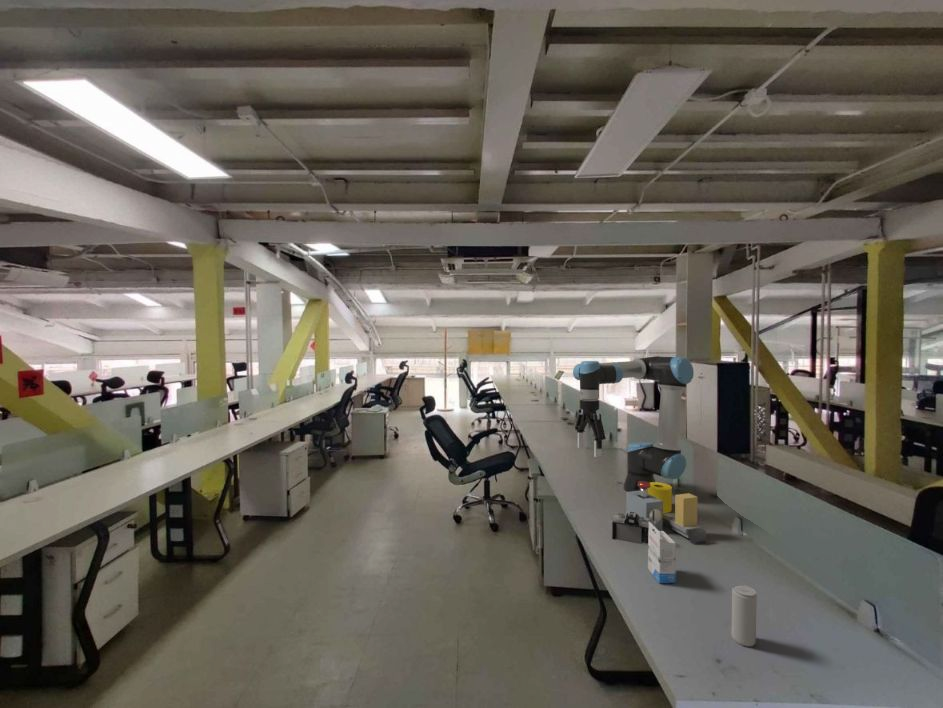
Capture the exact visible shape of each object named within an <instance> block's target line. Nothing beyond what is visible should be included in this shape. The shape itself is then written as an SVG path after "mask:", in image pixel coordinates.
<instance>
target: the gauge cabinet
mask: <svg viewBox="0 0 943 708" xmlns="http://www.w3.org/2000/svg"><path fill="white" fill-rule="evenodd" d="M625 493H626V494H625V515H626V514H627V513H629V512H635V513H636V514H638V515H639V516H640V517H644V519H645V520H646V518H649V519H650V520H651V521H655V522H656V524H658V525H657V526H656V529H657V530H658V531H663V524H662V518H663V514H664V513H663V501H661V500H659V499H657V498H656V497H654V496H652V495H650V494H648V498H646V499H642V498H640V491H632V492H627V491H625Z"/></svg>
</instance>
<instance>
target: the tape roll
mask: <svg viewBox="0 0 943 708" xmlns="http://www.w3.org/2000/svg"><path fill="white" fill-rule="evenodd" d="M649 483H650V488H648V494H650V495H652V496H654V497H656V498H657V499H659V500H661V501H663V514H669V513H671V512H672V510H673V509H672V508H673V507H672V505H673V502H672V500H673V499H672V497H673V494H672V493H673V487H672V486H671V485H670V484H667V483H663V482H657V481H655V482H649Z"/></svg>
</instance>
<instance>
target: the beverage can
mask: <svg viewBox="0 0 943 708" xmlns="http://www.w3.org/2000/svg"><path fill="white" fill-rule="evenodd" d="M757 596H758V595H757V592H756V590H755V589H753V588H752V587H750V586H748V585H745V584H734V585H733V586H732V589H731V629H730V630H731V635H730V636H731V637H732V639H733V640H734V641H735V643H737V644H739V645H741V646H743V647H753V646H754V645H755V644H756V642H757V641H756V640H757V603H758V602H757V599H758V597H757Z"/></svg>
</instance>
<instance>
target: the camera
mask: <svg viewBox="0 0 943 708" xmlns="http://www.w3.org/2000/svg"><path fill="white" fill-rule="evenodd" d="M611 520H612V523H611V525H612V528H611V529H612V531H611V534H612V535H611V539H613V540H617V541H621V542H622V541H623V542H628V543H633V544H639V545H643V546H644V545H645V546H648V531H649V522H650V523H651V524H652V525H653V526H654V527H655V528H656V526H657V525H658V524H656V522H655V521H651V520H650V519H649V518H646V520H645V519H644V517H640V516H639V515H638V514H636V513H635V512H629V513H627V514H626V513H623V512H618V513H617V514H613V516H611ZM652 530H653V529H652ZM653 531H655V530H653Z"/></svg>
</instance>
